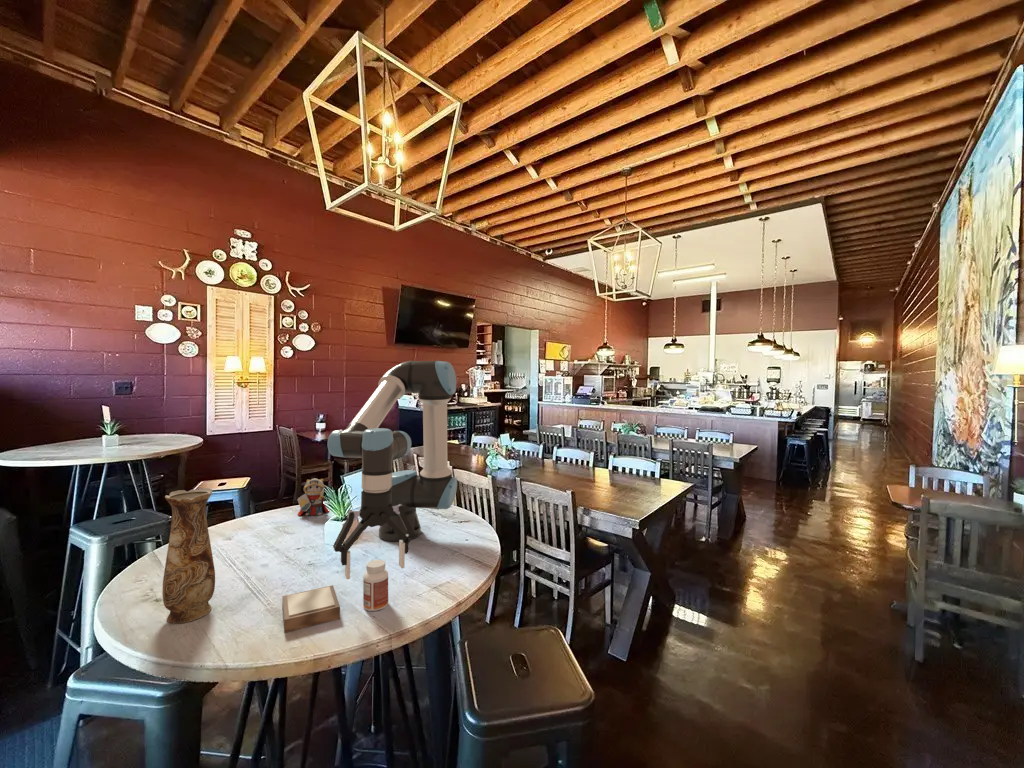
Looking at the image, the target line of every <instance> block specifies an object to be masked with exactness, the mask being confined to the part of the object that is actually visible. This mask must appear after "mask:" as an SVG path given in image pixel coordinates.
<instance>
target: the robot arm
mask: <svg viewBox="0 0 1024 768" xmlns="http://www.w3.org/2000/svg"><path fill="white" fill-rule="evenodd" d="M457 382H458V381H457V377H456V371H455V368H454V366H453V364H451V362H449V361H441V360H408V361H403V362H401V363H399V364H396V365H395V366H393V367H392V368H391V369H389V370H387V371H386V372H385V373H384V374H383V375H382V377H380V379H379V380H378V383H377V386H378V387H377V388H376V389H375V390H374V391H373V392H372V394H371V395H370V397H369V398H368V399H367V401H366V402H365V404H364V405H363V406H362V407H361V409H359V411H358V413H357V414H355V416H354V417H353V418H352V420H351V421H350V423H348V425H347V426H346V428H345V429H337V430H333V431H332V432H330V434H329V436H328V438H327V443H326V444H327V449H328V452H329V454H330V456H333V457H337V458H338V457H339V458H344V459H345V458H350V459H351V458H352V459H355V458H358V459H361V463H362V465H361V489H362V491H361V494H360V495H361V497H360V498H361V501H360V509H359V510H352V509H349V510H348V511H347V515H346V520H345V521H344V523H343V526H342V528H341V529H340V531H339V534H338V536H337V537H336V539H335V541H334V543H333V545H332V548H333V550H334V552H336V553H338V552H339V553H340V563H341V566H342V567H344V577H345V579H346V580H350V579H351V551H350V549H351V547H352V546H353V545H354V543H355V542H356V541H357V540H358V538H359V537H361V535H362V533H363V532H364V531H366V530H367V528H368V527H370V528H375V527H377V526H379V528H378V537H379V538H380V539H381V540H383V541H386V542H398V544H399V545H398V551H399V552H398V565H399V567H400V568H401V569H405V562H406V561H405V559H406V558H405V556H406V554H408V553H409V544H410V542H411V540H413V539H416V538H417V537H419V536H420V535H421V530H422V529H421V527H422V526H421V523H420V521H419V518H418V513H417V509H418V508H419V509H431V510H437V511H438V510H448V509H450V508H451V507H452V506H453V504H454V501H455V499H456V494H457V490H458V479H457V478H456V476H453V472H452V469H451V468H449V466H448V464H449V463H448V462H449V461H448V459H449V458H448V402H450V400H451V399H452V395H455V393H456V391H457V386H458V385H457ZM406 394H417V395H418V401H419V402H420V403H422V425H423V427H422V429H423V430H422V431H423V433H422V434H423V438H422V439H423V469H421V470H420V472H419V474H418V471H416V470H413V469H406V470H399V471H398V470H397V471H394V472H393V461H395V460H397V459H401V458H403V457H405V456H406V455H407V454H408V453H409V452H410V451H411V448H412V438H411V436H410V435H409V434H408V433H407V432H405V431H402V430H394V431H392V430H391V429H390V428H386V427H385V428H384V427H381V428H380V426H381V424H382V423H383V421H384V420H385V418H386V417H387V415H388V414H389V412H390V411H391V409H392V408H393V406H394V405H395V403H396V402H397V400H400V399H401V398H403V397H404V395H406ZM358 517H360V518H361V520H360V521H359V523H358V524H357V526H356V527H355V529H353V531H352V532H351V533H350V535H349V536H348V534H349V532H350V531H351V528H352V526H353V524H354V521H356V519H357V518H358ZM347 536H348V537H347ZM346 538H347V539H346Z"/></svg>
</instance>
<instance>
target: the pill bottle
mask: <svg viewBox="0 0 1024 768" xmlns="http://www.w3.org/2000/svg"><path fill="white" fill-rule="evenodd" d="M362 576H363V581H362V583H363V585H362V586H363V588H362V589H363V592H362V593H363V596H362V597H363V599H362V601H363V602H362V604H363V605H362V606H363V609H365V610H366V611H367V612H368V611H369V612H377V611H380V610H383V609H384V608H386V607H387V606H388V604H389V572H388V570H387V569H386V561H385V560H384V559H373V560H370V561H368V562H367V563H366V570H365V572H364V574H363V575H362Z"/></svg>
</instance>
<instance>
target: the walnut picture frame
mask: <svg viewBox="0 0 1024 768" xmlns="http://www.w3.org/2000/svg"><path fill="white" fill-rule="evenodd" d="M281 599H282V602H281V603H282V607H281V608H282V619H283V621H282V622H283V631H284V633H285V634H286V633H288V632H293V631H297V630H301V629H305V628H308V627H313V626H316V625H320V624H325V623H328V622H332V621H337V620H340V619H341V606H340V603H339V599H338V596H337V593H336V590H335V587H334V585H328V586H327V585H326V586H324V587H319V588H315V589H309V590H304V591H299V592H297V593H296V592H295V593H291V594H285V595H283V596H282V598H281Z"/></svg>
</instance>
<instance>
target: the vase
mask: <svg viewBox="0 0 1024 768" xmlns="http://www.w3.org/2000/svg"><path fill="white" fill-rule="evenodd" d="M212 494H213V489H212V488H210V487H205V488H204V487H203V488H200V489H198V490H196V489H193V488H192V489H190V490H188V491H187V490H185V489H182V490H181V489H180V490H179V489H178V490H174V491H171V492H169V495H167V494H166V495H165V496H164V498H165V500H166V501H167V502H168V504H169V505H170V508H171V513H172V514H171V515H172V516H171V524H170V533H169V539H168V546H167V553H166V559H165V565H164V572H163V576H162V577H163V579H162V589H161V590H162V591H161V593H162V601H163V605H164V608H165V609H166V610H168V611H169V614H168V615H167V618H166V621H167V622H168V623H169V624H184V623H188V622H192V621H196V620H198V619H200V618H203V617H204V616H206V615H208V614H209V613H210V612H211V611H212V606H211V604H210V603H209V601H211V599H212V598H213V595H214V593H215V587H216V570H215V564H214V563H215V562H214V557H213V550H212V544H211V539H210V534H209V533H210V532H209V527H208V519H207V508H206V506H207V503H208V501H209V499H210V497H211V495H212Z"/></svg>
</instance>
